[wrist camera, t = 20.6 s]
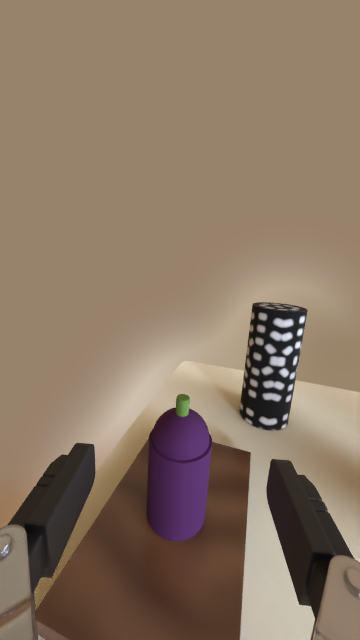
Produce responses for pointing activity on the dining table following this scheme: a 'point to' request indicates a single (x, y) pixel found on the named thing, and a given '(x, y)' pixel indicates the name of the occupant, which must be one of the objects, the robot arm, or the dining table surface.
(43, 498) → the robot arm
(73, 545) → the dining table surface
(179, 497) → the eggplant
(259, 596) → the dining table surface
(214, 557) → the cutting board
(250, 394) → the spotted tube
